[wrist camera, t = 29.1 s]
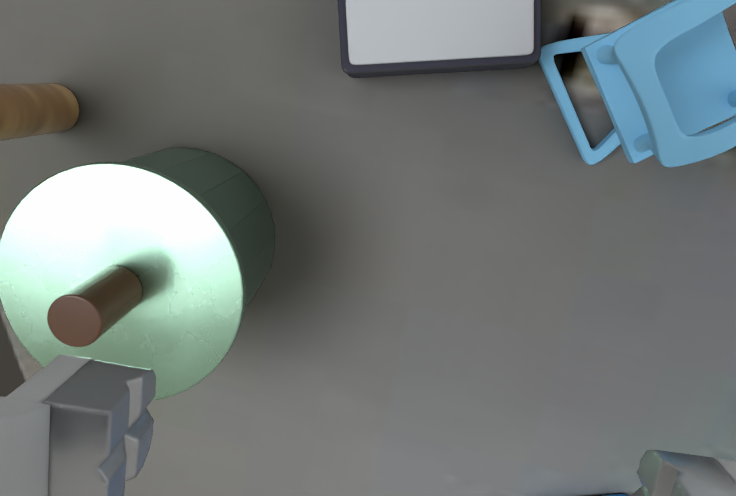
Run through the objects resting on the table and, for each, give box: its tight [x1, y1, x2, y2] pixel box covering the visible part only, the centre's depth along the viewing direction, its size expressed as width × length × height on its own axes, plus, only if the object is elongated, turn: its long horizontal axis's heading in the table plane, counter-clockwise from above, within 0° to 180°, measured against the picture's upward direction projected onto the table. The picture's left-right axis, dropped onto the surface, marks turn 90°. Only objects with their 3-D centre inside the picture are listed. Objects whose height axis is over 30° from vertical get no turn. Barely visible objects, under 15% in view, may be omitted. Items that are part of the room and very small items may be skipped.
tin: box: [122, 147, 275, 308], centre depth 37 cm, size 11×11×10 cm
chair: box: [538, 0, 736, 167], centre depth 33 cm, size 8×8×12 cm
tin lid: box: [0, 162, 246, 400], centre depth 30 cm, size 12×12×6 cm
